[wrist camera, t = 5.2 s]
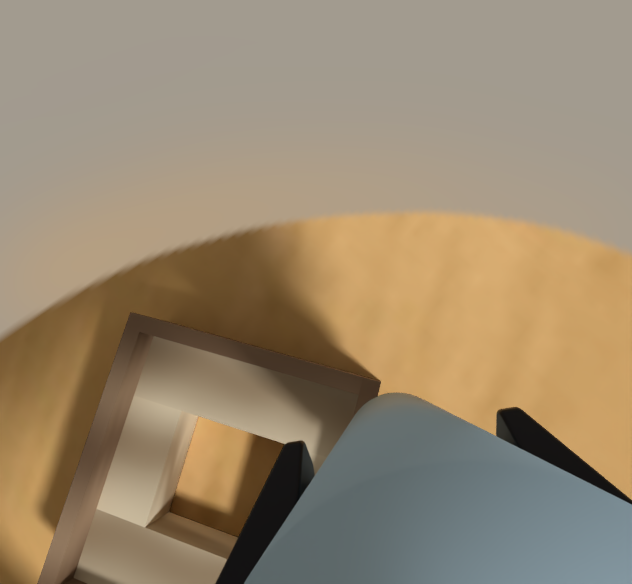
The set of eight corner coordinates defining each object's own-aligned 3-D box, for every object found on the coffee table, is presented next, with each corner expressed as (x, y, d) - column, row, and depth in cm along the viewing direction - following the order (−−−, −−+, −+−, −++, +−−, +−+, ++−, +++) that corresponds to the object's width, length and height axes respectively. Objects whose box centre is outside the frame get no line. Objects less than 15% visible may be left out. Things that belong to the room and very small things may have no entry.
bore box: (312, 661, 20) (297, 724, 17) (87, 567, 23) (30, 604, 19) (380, 381, 22) (380, 382, 19) (167, 321, 25) (130, 312, 21)
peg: (450, 511, 15) (964, 1477, 2) (341, 494, 16) (136, 1119, 3) (456, 399, 16) (856, 510, 3) (351, 386, 17) (233, 425, 3)
